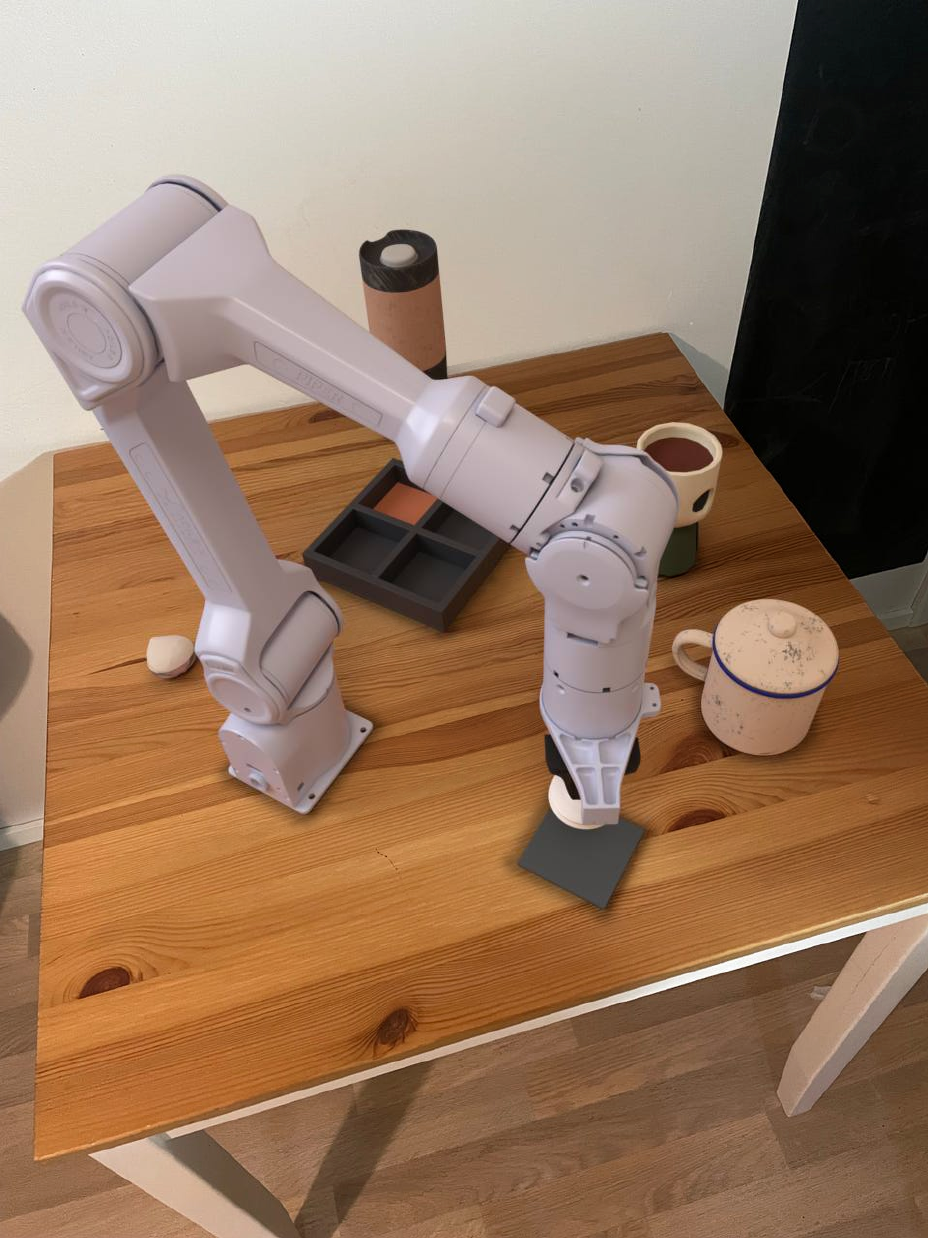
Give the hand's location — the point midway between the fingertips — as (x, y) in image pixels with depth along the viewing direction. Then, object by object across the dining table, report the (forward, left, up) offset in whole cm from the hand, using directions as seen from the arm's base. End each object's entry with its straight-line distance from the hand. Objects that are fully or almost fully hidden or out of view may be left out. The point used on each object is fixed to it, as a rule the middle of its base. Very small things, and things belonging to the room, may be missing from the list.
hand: (584, 778), depth 61 cm
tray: (+20, +27, -9) cm, 35 cm away
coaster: (0, 0, -9) cm, 9 cm away
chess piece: (0, 0, -3) cm, 3 cm away
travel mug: (+37, +38, -10) cm, 54 cm away
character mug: (+30, +6, -10) cm, 32 cm away
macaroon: (-2, +39, -10) cm, 40 cm away
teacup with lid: (+17, -6, -10) cm, 21 cm away
